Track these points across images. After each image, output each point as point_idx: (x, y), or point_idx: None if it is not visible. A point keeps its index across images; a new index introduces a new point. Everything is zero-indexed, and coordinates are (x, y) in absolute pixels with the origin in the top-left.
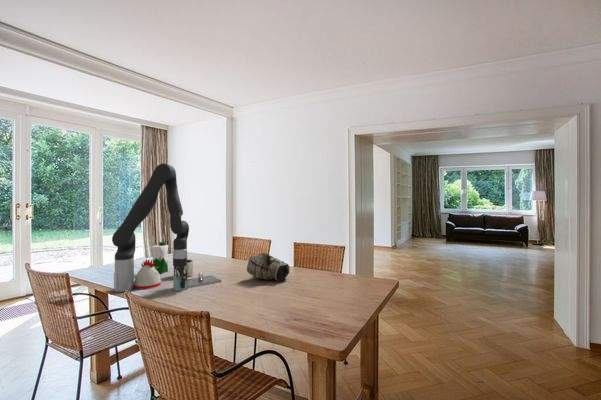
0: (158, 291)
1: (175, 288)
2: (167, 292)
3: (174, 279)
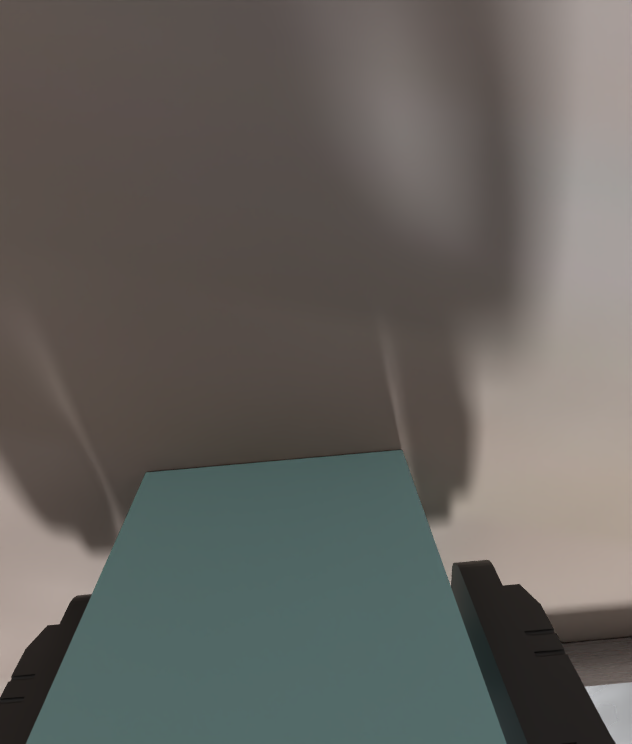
0: (417, 24)
1: (242, 491)
2: (143, 256)
3: (337, 728)
